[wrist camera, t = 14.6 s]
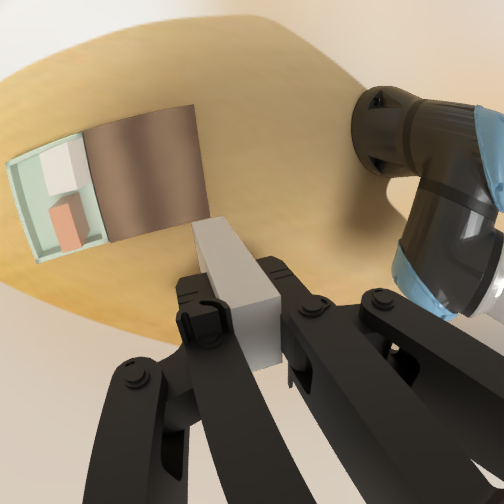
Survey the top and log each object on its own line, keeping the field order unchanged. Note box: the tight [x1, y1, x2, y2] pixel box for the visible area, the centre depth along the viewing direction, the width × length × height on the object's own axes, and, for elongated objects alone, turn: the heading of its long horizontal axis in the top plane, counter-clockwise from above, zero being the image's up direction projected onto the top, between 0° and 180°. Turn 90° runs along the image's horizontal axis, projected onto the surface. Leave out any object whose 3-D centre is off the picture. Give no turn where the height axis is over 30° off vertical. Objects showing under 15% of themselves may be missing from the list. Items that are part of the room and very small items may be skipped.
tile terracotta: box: [48, 192, 90, 253], centre depth 26 cm, size 5×5×2 cm
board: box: [83, 105, 210, 243], centre depth 29 cm, size 12×13×3 cm
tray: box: [5, 132, 110, 264], centre depth 26 cm, size 10×13×3 cm
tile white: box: [39, 137, 92, 196], centre depth 24 cm, size 5×5×2 cm
